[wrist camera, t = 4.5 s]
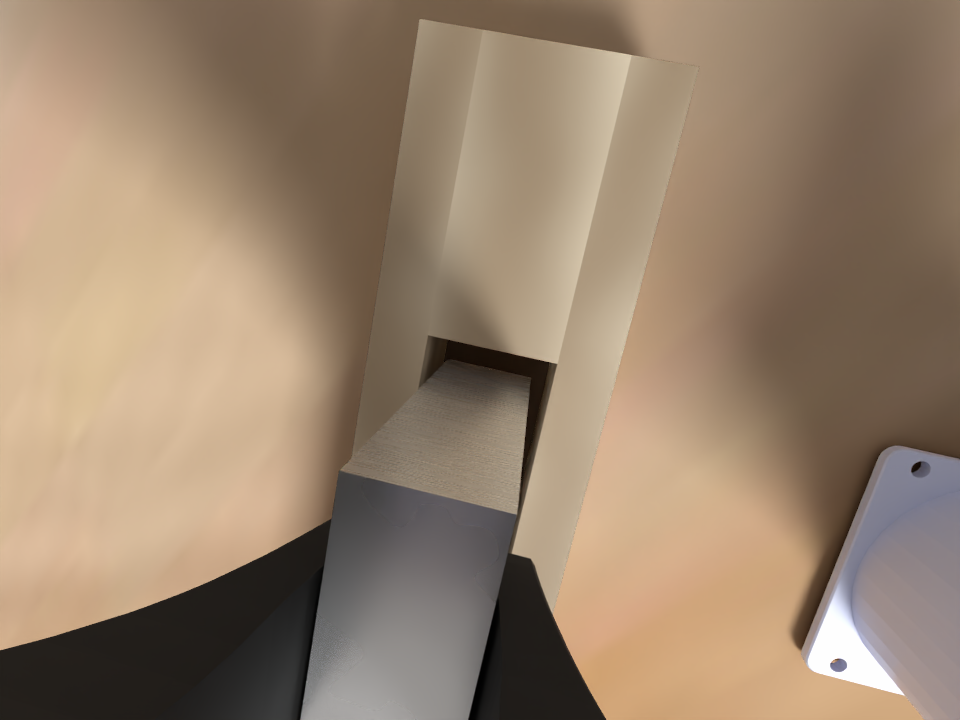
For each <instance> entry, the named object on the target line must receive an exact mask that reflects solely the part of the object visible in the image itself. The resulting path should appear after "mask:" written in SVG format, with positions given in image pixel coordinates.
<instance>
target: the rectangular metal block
mask: <svg viewBox="0 0 960 720" xmlns="http://www.w3.org/2000/svg"><path fill="white" fill-rule="evenodd" d="M530 383H531V377H526V376H522V375H518V374H513V373H509V372H504V371H500V370H495V369H491V368H487V367H482V366H478V365H473V364H469V363H464V362H460V361H456V360H451V359H448V360H447V361H446V362H445V363H444V364H443V365H442V366H441V367H440V368H439V369H438V370H437V371H436V372H435V373H434V374H433V375H432V376H431V377H430V378H429V379H428V380H427V381H426V382H425V383H424V384H423V385H422V386H421V387H420V388H419V389H418V390H417V391H416V392H415V393H414V394H413V396H412V397H411V398H410V399H409V400H408V401H407V402H406V403H405V404H404V405H403V406H402V407H401V408H400V409H399V410H398V411H397V412H396V413H395V414H394V415H393V416H392V417H391V418H390V419H389V420H388V421H387V422H386V423H385V424H384V425H383V426H382V427H381V428H380V429H379V430H378V431H377V432H376V433H375V434H374V435H373V436H372V437H371V439H370V440H369V441H368V442H367V443H366V444H365V445H364V446H363V447H362V448H361V449H360V450H359V451H358V452H357V453H356V454H355V455H354V456H353V457H352V458H351V459H350V460H349V461H348V462H347V463H346V464H345V465H344V466H343V467H342V468H341V469H340V470H339V474H338V481H337V487H336V494H335V500H334V507H333V513H332V520H331V526H330V532H329V539H328V545H327V552H326V558H325V565H324V571H323V578H322V584H321V590H320V597H319V603H318V610H317V616H316V623H315V629H314V636H313V642H312V648H311V655H310V661H309V668H308V674H307V681H306V687H305V694H304V700H303V706H302V713H301V719H300V720H468V718H469V714H470V710H471V705H472V701H473V697H474V693H475V689H476V684H477V680H478V676H479V672H480V668H481V664H482V659H483V655H484V651H485V647H486V643H487V638H488V634H489V630H490V626H491V622H492V617H493V613H494V609H495V605H496V601H497V597H498V592H499V588H500V584H501V580H502V576H503V571H504V567H505V563H506V559H507V555H508V551H509V546H510V542H511V538H512V534H513V530H514V525H515V521H516V517H517V510H518V501H519V491H520V481H521V471H522V461H523V451H524V442H525V432H526V422H527V412H528V402H529V392H530Z"/></svg>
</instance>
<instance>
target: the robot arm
mask: <svg viewBox="0 0 960 720" xmlns="http://www.w3.org/2000/svg"><path fill="white" fill-rule="evenodd" d="M919 461H921V467H920V468H919V469H918V470H917V471H915V472H911V467H912V466H913V465H914V464H915V463H917V462H919ZM331 520H332V519H330V520H329V521H327V522H325V523H323V524H321V525H320V526H318V527H316V528H314V529H313V530H311V531H309V532H307V533H305V534H304V535H302V536H300V537H298V538H296V539H294V540H293V541H291V542H289V543H287V544H285V545H283V546H281V547H280V548H278V549H276V550H274V551H272V552H270V553H268V554H266V555H265V556H263V557H260V558H258V559H256V560H254V561H252V562H250V563H248V564H246V565H244V566H242V567H239V568H237V569H235V570H233V571H231V572H229V573H227V574H225V575H223V576H221V577H218V578H216V579H214V580H212V581H210V582H208V583H205V584H203V585H201V586H198V587H196V588H193V589H191V590H189V591H186V592H184V593H181V594H179V595H176V596H173V597H171V598H168V599H166V600H163V601H160V602H158V603H155V604H152V605H150V606H147V607H144V608H142V609H139V610H136V611H133V612H130V613H127V614H124V615H121V616H118V617H114V618H111V619H108V620H105V621H101V622H98V623H95V624H92V625H89V626H85V627H82V628H79V629H76V630H72V631H69V632H66V633H63V634H60V635H56V636H53V637H49V638H46V639H42V640H39V641H35V642H31V643H27V644H23V645H19V646H16V647H12V648H8V649H4V650H0V720H300V719H301V713H302V706H303V700H304V694H305V687H306V681H307V674H308V668H309V661H310V655H311V648H312V642H313V636H314V629H315V623H316V616H317V610H318V603H319V597H320V590H321V584H322V578H323V571H324V565H325V558H326V552H327V545H328V539H329V532H330V526H331ZM801 655H802V658H803V660H804V662H805V663H806V665H807V666H808V667H809V668H810V669H811V670H812V671H814V672H816V673H820V674H824V675H828V676H832V677H835V678H839V679H843V680H847V681H851V682H855V683H858V684H862V685H866V686H870V687H874V688H878V689H882V690H885V691H889V692H893V693H897V694H901V695H905V697H906V698H907V699H908V700H909V701H910V703H911V704H912V705H913V706H914V708H915V709H916V710H917V711H918V712H919V714H920V715H921V716H922V717H923V718H924V720H960V459H958V458H953V457H949V456H945V455H940V454H936V453H931V452H927V451H922V450H918V449H913V448H909V447H904V446H892V447H888V448H887V449H885V450H884V451H882V453H881V454H880V456H879V457H878V460H877V462H876V465H875V467H874V470H873V472H872V475H871V477H870V480H869V482H868V485H867V487H866V490H865V492H864V495H863V497H862V500H861V502H860V505H859V507H858V510H857V512H856V515H855V517H854V520H853V522H852V525H851V527H850V530H849V532H848V535H847V537H846V540H845V542H844V545H843V547H842V550H841V552H840V555H839V557H838V560H837V563H836V565H835V568H834V570H833V573H832V575H831V578H830V580H829V583H828V585H827V588H826V590H825V593H824V595H823V598H822V600H821V603H820V605H819V608H818V610H817V613H816V615H815V618H814V620H813V623H812V625H811V628H810V630H809V633H808V635H807V638H806V640H805V643H804V645H803V648H802V652H801ZM836 658H840V659H839V660H838V661H837V662H835V663H831V661H832V660H834V659H836ZM468 720H606V718H605V717H604V715H603V713H602V712H601V710H600V708H599V707H598V705H597V703H596V701H595V699H594V698H593V696H592V694H591V692H590V691H589V689H588V687H587V685H586V683H585V681H584V679H583V678H582V676H581V674H580V672H579V670H578V668H577V666H576V664H575V662H574V660H573V658H572V656H571V654H570V652H569V650H568V648H567V646H566V644H565V641H564V639H563V637H562V635H561V633H560V630H559V628H558V626H557V624H556V622H555V619H554V617H553V615H552V612H551V610H550V607H549V605H548V602H547V600H546V597H545V594H544V592H543V589H542V586H541V583H540V581H539V578H538V574H537V571H536V568H535V565H534V563H533V562H532V560H531V558H527V557H523V556H519V555H515V554H511V553H508V555H507V559H506V563H505V567H504V571H503V576H502V580H501V584H500V588H499V592H498V597H497V601H496V605H495V609H494V613H493V617H492V622H491V626H490V630H489V634H488V638H487V643H486V647H485V651H484V655H483V659H482V664H481V668H480V672H479V676H478V680H477V684H476V689H475V693H474V697H473V701H472V705H471V710H470V714H469V718H468Z"/></svg>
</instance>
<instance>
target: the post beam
mask: <svg viewBox="0 0 960 720" xmlns="http://www.w3.org/2000/svg"><path fill="white" fill-rule="evenodd" d="M698 71H699V66H693V65H687V64H681V63H675V62H670V61H664V60H658V59H652V58H646V57H640V56H635V55H629V54H623V53H617V52H611V51H605V50H600V49H594V48H588V47H582V46H576V45H570V44H565V43H559V42H553V41H547V40H541V39H535V38H529V37H524V36H518V35H512V34H506V33H500V32H494V31H489V30H483V29H477V28H471V27H465V26H459V25H454V24H448V23H442V22H436V21H430V20H424V19H420V20H419V26H418V32H417V39H416V45H415V52H414V58H413V65H412V71H411V77H410V84H409V90H408V97H407V103H406V110H405V116H404V122H403V129H402V135H401V142H400V148H399V154H398V161H397V167H396V174H395V180H394V187H393V193H392V199H391V206H390V212H389V219H388V225H387V232H386V238H385V244H384V251H383V257H382V264H381V270H380V277H379V283H378V289H377V296H376V302H375V309H374V315H373V321H372V328H371V334H370V341H369V347H368V354H367V360H366V366H365V373H364V379H363V386H362V392H361V399H360V405H359V411H358V418H357V424H356V431H355V437H354V443H353V450H352V456H351V458H352V457H353V456H354V455H355V454H356V453H357V452H358V451H359V450H360V449H361V448H362V447H363V446H364V445H365V444H366V443H367V442H368V441H369V440H370V439H371V437H372V436H373V435H374V434H375V433H376V432H377V431H378V430H379V429H380V428H381V427H382V426H383V425H384V424H385V423H386V422H387V421H388V420H389V419H390V418H391V417H392V416H393V415H394V414H395V413H396V412H397V411H398V410H399V409H400V408H401V407H402V406H403V405H404V404H405V403H406V402H407V401H408V400H409V399H410V398H411V397H412V396H413V394H414V393H415V392H416V391H417V390H418V389H419V388H420V387H421V386H422V385H423V384H424V383H425V382H426V381H427V380H428V379H429V378H430V377H431V376H432V375H433V374H434V373H435V372H436V371H437V370H438V369H439V368H440V367H441V366H442V365H443V363H444V358H445V353H446V347H447V342H448V340H452V341H456V342H461V343H465V344H470V345H474V346H479V347H483V348H488V349H492V350H497V351H501V352H506V353H510V354H515V355H519V356H524V357H528V358H533V359H537V360H542V361H546V362H550V364H549V369H548V373H547V377H546V381H545V385H544V390H543V394H542V398H541V402H540V407H539V411H538V415H537V419H536V423H535V428H534V432H533V436H532V440H531V445H530V449H529V453H528V457H527V461H526V466H525V470H524V474H523V478H522V482H521V487H520V491H519V501H518V510H517V517H516V521H515V525H514V530H513V534H512V538H511V542H510V546H509V551H508V553H511V554H515V555H519V556H523V557H527V558H531V560H532V562H533V563H534V565H535V568H536V571H537V574H538V578H539V581H540V583H541V586H542V589H543V592H544V594H545V597H546V600H547V602H548V605H549V607H550V610H551V612H552V615H553V612H554V608H555V604H556V601H557V597H558V593H559V589H560V586H561V582H562V578H563V574H564V571H565V567H566V563H567V560H568V556H569V552H570V548H571V545H572V541H573V537H574V533H575V530H576V526H577V522H578V519H579V515H580V511H581V507H582V504H583V500H584V496H585V492H586V489H587V485H588V481H589V478H590V474H591V470H592V466H593V463H594V459H595V455H596V451H597V448H598V444H599V440H600V436H601V433H602V429H603V425H604V422H605V418H606V414H607V410H608V407H609V403H610V399H611V395H612V392H613V388H614V384H615V381H616V377H617V373H618V369H619V366H620V362H621V358H622V354H623V351H624V347H625V343H626V339H627V336H628V332H629V328H630V325H631V321H632V317H633V313H634V310H635V306H636V302H637V298H638V295H639V291H640V287H641V284H642V280H643V276H644V272H645V269H646V265H647V261H648V257H649V254H650V250H651V246H652V243H653V239H654V235H655V231H656V228H657V224H658V220H659V216H660V213H661V209H662V205H663V201H664V198H665V194H666V190H667V187H668V183H669V179H670V175H671V172H672V168H673V164H674V160H675V157H676V153H677V149H678V146H679V142H680V138H681V134H682V131H683V127H684V123H685V119H686V116H687V112H688V108H689V104H690V101H691V97H692V93H693V90H694V86H695V82H696V78H697V75H698Z"/></svg>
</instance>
